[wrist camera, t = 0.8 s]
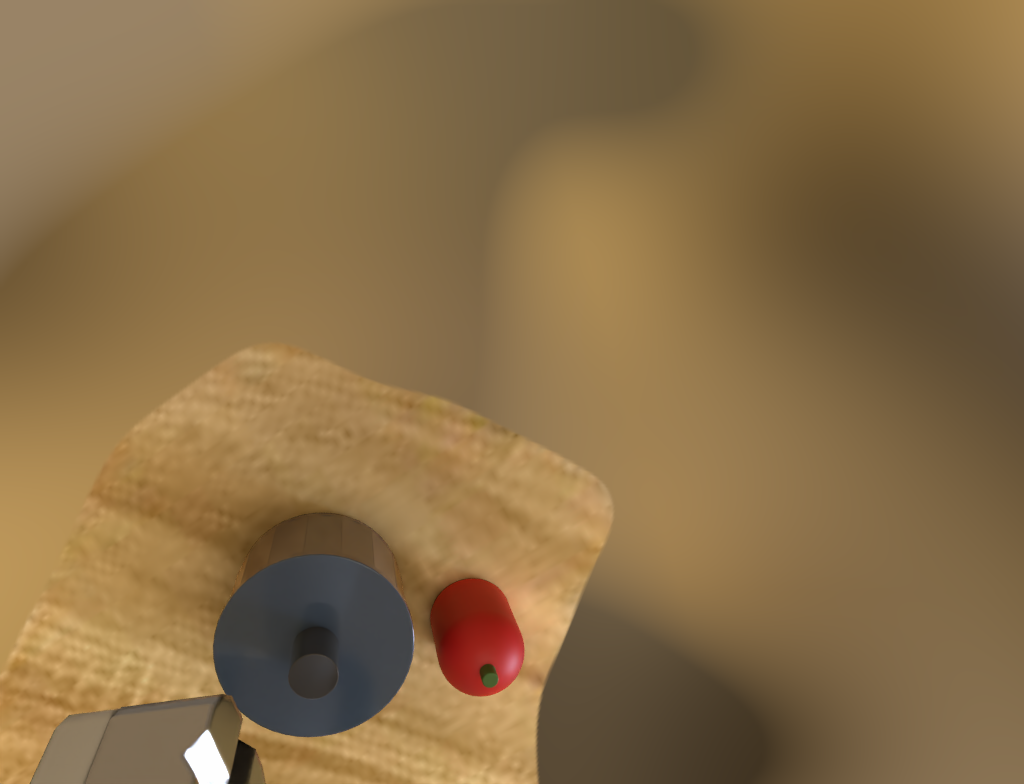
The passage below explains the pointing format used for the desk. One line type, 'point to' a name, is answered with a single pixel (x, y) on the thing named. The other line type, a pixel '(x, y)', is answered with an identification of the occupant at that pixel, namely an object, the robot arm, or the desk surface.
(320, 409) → the desk surface
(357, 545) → the pot
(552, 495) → the desk surface
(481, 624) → the pepper
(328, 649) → the pot lid
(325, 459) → the desk surface
